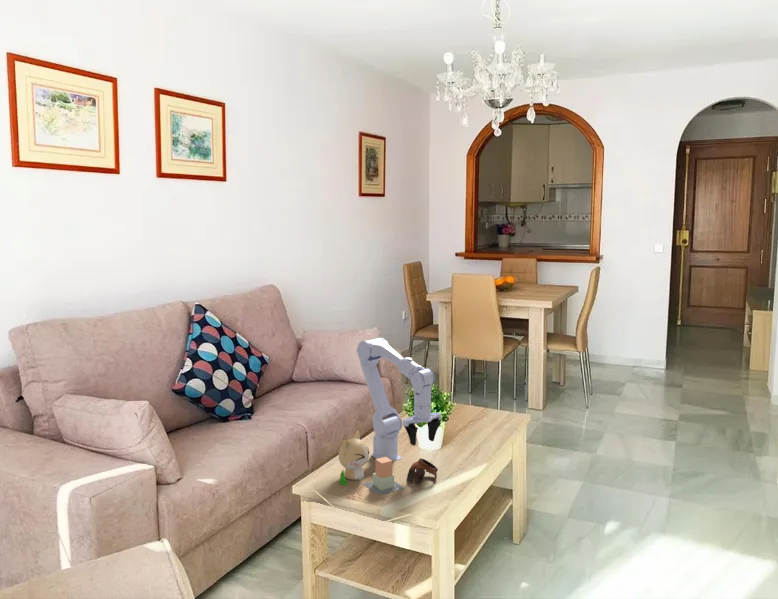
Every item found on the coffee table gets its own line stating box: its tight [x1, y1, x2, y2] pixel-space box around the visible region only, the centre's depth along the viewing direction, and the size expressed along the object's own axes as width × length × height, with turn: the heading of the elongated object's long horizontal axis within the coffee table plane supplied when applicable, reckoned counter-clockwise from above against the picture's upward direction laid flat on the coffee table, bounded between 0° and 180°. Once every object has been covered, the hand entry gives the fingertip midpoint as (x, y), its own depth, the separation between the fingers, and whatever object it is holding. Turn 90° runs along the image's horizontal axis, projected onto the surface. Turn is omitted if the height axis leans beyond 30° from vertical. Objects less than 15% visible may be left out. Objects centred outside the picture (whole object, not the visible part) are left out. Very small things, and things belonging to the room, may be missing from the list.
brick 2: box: [372, 472, 395, 490], centre depth 211 cm, size 5×5×4 cm
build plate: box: [362, 480, 405, 496], centre depth 211 cm, size 10×10×1 cm
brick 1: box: [374, 457, 393, 478], centre depth 210 cm, size 4×4×5 cm
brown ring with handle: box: [406, 458, 439, 485], centre depth 215 cm, size 12×10×8 cm
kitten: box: [338, 430, 370, 486], centre depth 217 cm, size 15×10×15 cm, turn 153°
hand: (422, 442), depth 222 cm, fingers open, 7 cm apart
